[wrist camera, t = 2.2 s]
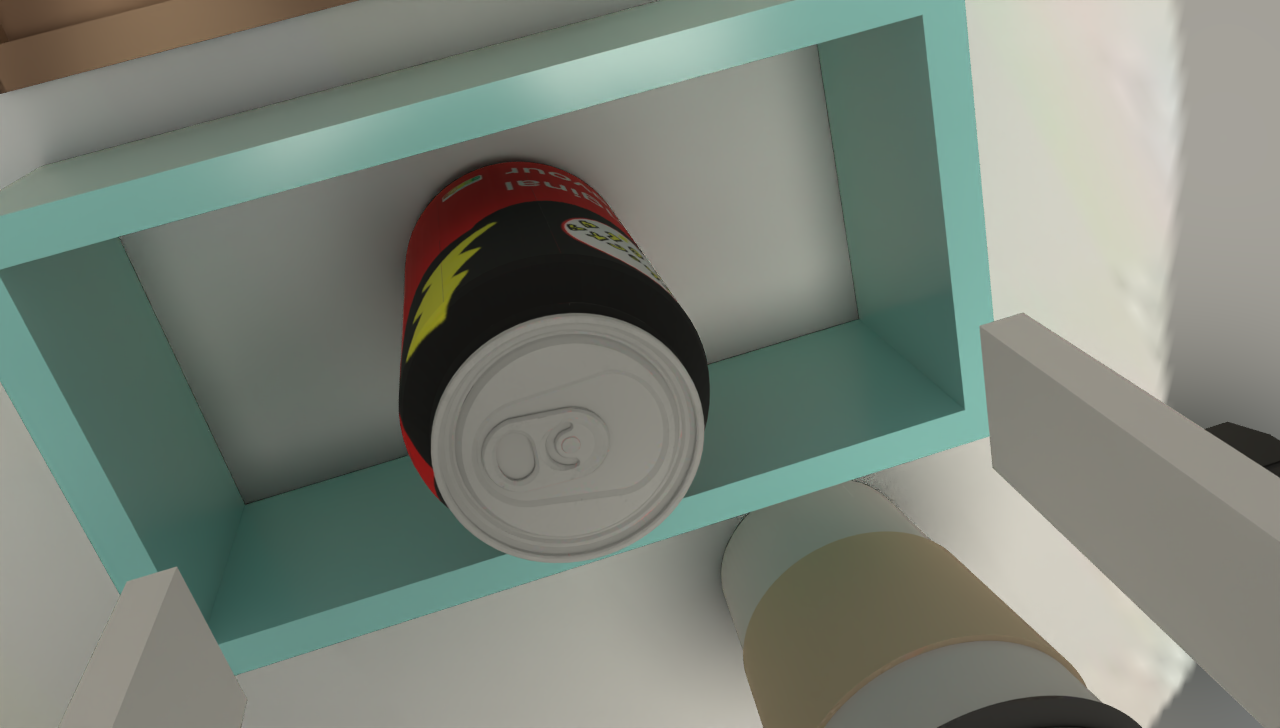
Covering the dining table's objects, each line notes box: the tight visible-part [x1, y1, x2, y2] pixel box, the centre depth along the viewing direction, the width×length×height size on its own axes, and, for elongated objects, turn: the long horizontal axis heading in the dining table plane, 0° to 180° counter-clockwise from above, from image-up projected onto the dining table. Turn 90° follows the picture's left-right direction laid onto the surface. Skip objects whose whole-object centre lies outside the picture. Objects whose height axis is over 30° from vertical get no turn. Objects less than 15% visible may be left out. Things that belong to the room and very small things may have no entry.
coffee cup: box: [721, 480, 1142, 728], centre depth 29 cm, size 9×9×15 cm
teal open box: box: [0, 0, 994, 676], centre depth 26 cm, size 22×12×7 cm, turn 103°
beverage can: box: [399, 162, 710, 563], centre depth 24 cm, size 6×6×12 cm
